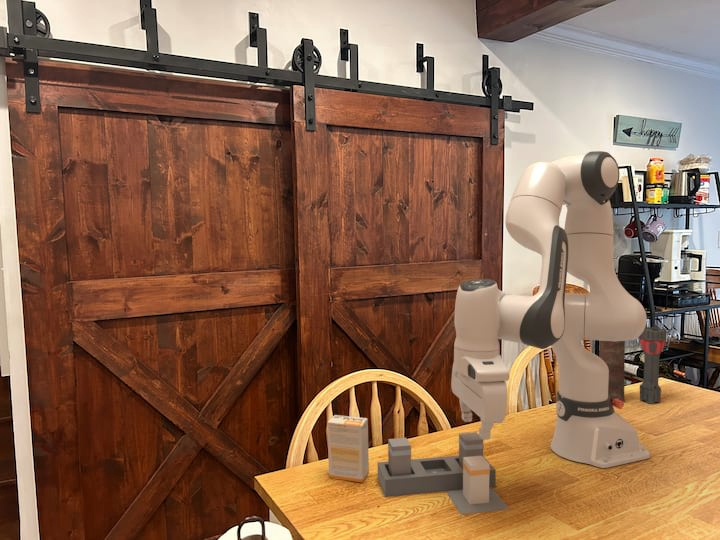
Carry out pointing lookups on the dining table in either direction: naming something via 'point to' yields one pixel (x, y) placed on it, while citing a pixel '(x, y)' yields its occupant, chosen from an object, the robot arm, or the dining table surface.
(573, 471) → the dining table surface
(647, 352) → the flashlight
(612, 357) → the brown tall block
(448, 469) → the strip
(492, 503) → the mat
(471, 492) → the plug
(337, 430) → the supplement box
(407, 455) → the twin plug
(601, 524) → the dining table surface
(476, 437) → the twin plug
